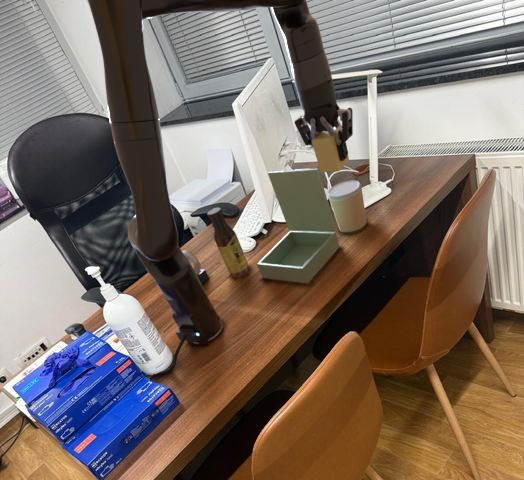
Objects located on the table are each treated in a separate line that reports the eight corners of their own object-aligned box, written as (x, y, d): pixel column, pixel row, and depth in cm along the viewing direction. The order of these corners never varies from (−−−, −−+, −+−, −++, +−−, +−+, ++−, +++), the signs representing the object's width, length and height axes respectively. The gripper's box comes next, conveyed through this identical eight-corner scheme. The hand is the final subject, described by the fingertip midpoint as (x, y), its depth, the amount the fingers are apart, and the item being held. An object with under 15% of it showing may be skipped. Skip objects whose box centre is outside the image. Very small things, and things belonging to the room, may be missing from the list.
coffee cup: (374, 217, 130) (366, 178, 122) (362, 235, 125) (352, 195, 118) (345, 218, 135) (335, 181, 128) (331, 236, 130) (321, 198, 123)
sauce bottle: (248, 276, 130) (220, 214, 118) (228, 280, 132) (200, 220, 120) (252, 264, 135) (226, 203, 122) (233, 268, 137) (206, 208, 125)
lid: (316, 169, 109) (326, 159, 111) (267, 173, 119) (278, 163, 121) (334, 231, 120) (343, 220, 122) (288, 230, 130) (297, 220, 132)
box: (308, 285, 116) (302, 268, 113) (263, 279, 126) (256, 264, 123) (340, 249, 124) (335, 232, 120) (295, 246, 134) (289, 230, 130)
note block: (338, 171, 102) (330, 138, 97) (320, 172, 105) (311, 140, 100) (349, 160, 104) (341, 127, 100) (331, 162, 107) (322, 130, 103)
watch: (195, 276, 141) (179, 246, 135) (213, 278, 136) (197, 247, 130) (183, 287, 139) (167, 257, 132) (201, 289, 134) (185, 258, 127)
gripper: (276, 93, 96) (299, 170, 106) (333, 81, 87) (353, 166, 97) (295, 79, 99) (315, 155, 110) (352, 66, 90) (368, 149, 101)
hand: (333, 159), depth 104 cm, fingers closed on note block, 5 cm apart
